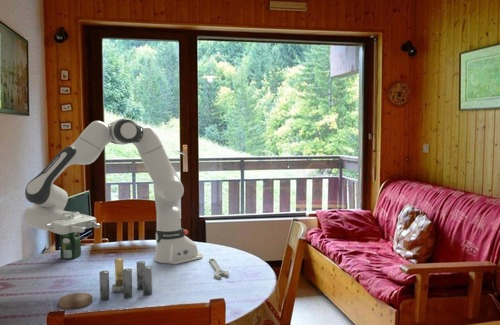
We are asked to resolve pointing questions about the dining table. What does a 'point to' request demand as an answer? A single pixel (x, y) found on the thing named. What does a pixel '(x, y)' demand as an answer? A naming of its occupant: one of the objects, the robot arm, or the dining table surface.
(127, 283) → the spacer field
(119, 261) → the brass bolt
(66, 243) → the coffee jar
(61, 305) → the walnut plate
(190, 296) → the dining table surface
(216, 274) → the adjustable wrench
